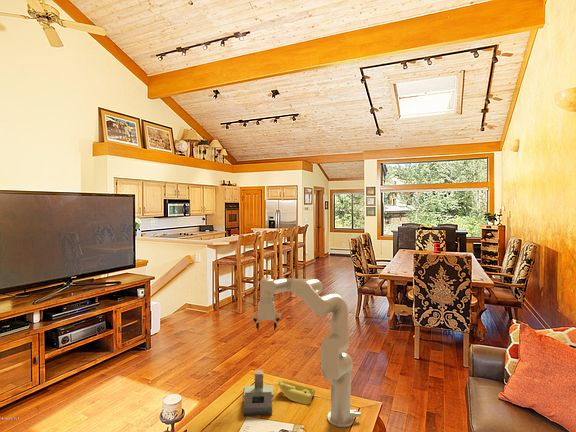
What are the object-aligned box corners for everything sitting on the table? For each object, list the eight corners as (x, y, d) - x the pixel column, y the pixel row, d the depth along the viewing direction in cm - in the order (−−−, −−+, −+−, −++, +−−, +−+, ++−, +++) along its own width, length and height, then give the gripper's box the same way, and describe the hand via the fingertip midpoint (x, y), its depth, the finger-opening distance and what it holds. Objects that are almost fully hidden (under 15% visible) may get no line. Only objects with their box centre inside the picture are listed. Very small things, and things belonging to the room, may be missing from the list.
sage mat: (272, 386, 189) (272, 384, 189) (273, 396, 179) (273, 394, 179) (244, 387, 188) (244, 385, 188) (243, 397, 178) (243, 395, 178)
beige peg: (263, 387, 186) (263, 370, 186) (263, 392, 181) (263, 373, 181) (254, 387, 186) (255, 370, 186) (254, 392, 181) (254, 374, 181)
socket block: (271, 399, 176) (271, 391, 176) (272, 415, 162) (272, 407, 162) (245, 400, 175) (245, 392, 175) (243, 416, 161) (243, 408, 161)
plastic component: (316, 389, 182) (312, 390, 173) (313, 404, 179) (309, 405, 170) (282, 380, 189) (277, 380, 180) (280, 394, 186) (274, 395, 177)
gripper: (281, 298, 195) (281, 327, 195) (251, 298, 194) (251, 327, 194) (281, 301, 187) (281, 331, 187) (251, 301, 186) (251, 331, 186)
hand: (266, 329), depth 191 cm, fingers open, 9 cm apart
